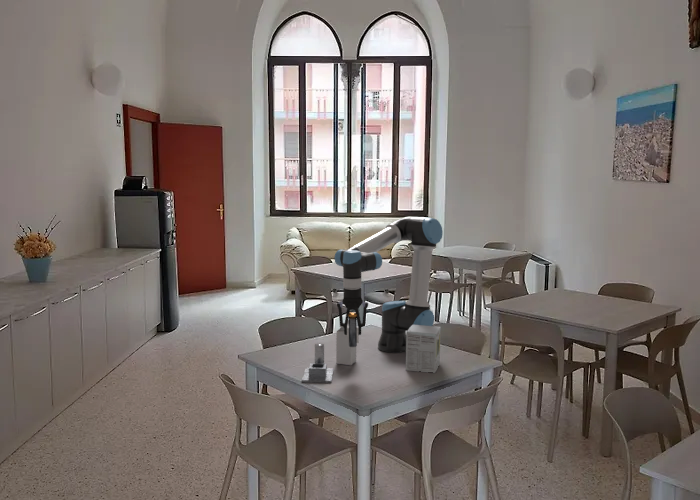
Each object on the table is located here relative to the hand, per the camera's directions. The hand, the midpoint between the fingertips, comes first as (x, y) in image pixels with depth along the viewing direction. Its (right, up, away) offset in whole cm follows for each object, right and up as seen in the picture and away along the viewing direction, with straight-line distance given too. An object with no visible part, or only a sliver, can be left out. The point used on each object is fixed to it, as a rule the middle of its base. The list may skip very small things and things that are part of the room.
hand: (352, 342), depth 264 cm
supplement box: (+31, -13, +11) cm, 35 cm away
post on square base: (-15, -14, -2) cm, 20 cm away
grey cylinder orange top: (0, -2, 0) cm, 2 cm away
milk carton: (-3, -12, +17) cm, 21 cm away
